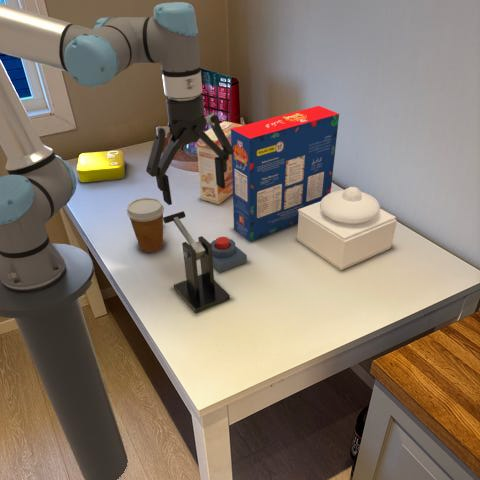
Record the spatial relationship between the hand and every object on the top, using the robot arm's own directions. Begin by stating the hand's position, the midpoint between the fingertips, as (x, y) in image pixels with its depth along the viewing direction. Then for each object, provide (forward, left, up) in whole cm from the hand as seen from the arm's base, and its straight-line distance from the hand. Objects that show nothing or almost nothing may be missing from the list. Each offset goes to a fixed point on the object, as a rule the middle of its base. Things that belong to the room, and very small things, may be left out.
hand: (195, 194), depth 110 cm
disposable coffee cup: (-15, -7, -20) cm, 26 cm away
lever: (+5, -6, -7) cm, 10 cm away
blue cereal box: (-6, +30, -20) cm, 37 cm away
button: (+1, +6, -16) cm, 17 cm away
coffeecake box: (-31, +25, -20) cm, 45 cm away
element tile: (-68, -1, -20) cm, 71 cm away
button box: (+1, +6, -19) cm, 20 cm away
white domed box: (+13, +36, -20) cm, 43 cm away
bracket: (+11, -6, -19) cm, 23 cm away
